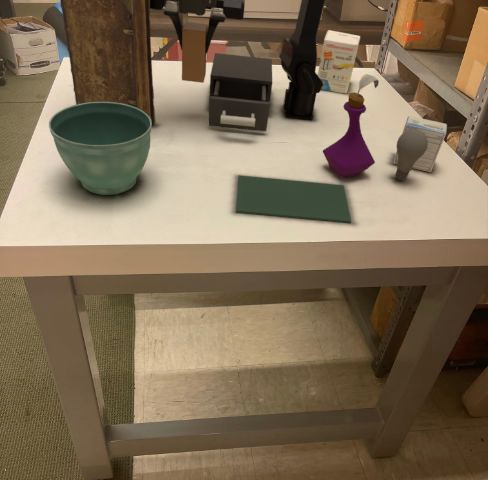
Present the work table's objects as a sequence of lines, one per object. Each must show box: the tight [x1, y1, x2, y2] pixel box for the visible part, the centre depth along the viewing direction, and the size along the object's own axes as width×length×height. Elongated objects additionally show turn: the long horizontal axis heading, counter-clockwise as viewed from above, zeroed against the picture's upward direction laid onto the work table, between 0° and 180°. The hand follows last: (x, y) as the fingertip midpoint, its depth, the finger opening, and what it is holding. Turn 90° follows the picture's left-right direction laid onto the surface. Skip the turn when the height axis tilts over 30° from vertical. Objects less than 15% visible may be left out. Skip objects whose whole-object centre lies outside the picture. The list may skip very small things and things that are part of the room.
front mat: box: [235, 174, 352, 224], centre depth 89 cm, size 20×12×1 cm, turn 88°
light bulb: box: [394, 129, 428, 181], centre depth 94 cm, size 6×6×10 cm
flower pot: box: [48, 102, 153, 196], centre depth 84 cm, size 16×16×11 cm
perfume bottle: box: [322, 73, 380, 179], centre depth 91 cm, size 8×8×18 cm
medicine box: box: [392, 115, 448, 173], centre depth 100 cm, size 8×4×9 cm, turn 71°
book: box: [59, 0, 156, 126], centre depth 96 cm, size 17×7×25 cm, turn 62°
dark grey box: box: [209, 52, 273, 104], centre depth 115 cm, size 15×14×8 cm
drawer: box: [207, 80, 271, 133], centre depth 106 cm, size 18×12×6 cm
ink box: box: [317, 29, 361, 94], centre depth 126 cm, size 9×8×12 cm
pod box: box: [181, 21, 209, 84], centre depth 100 cm, size 4×5×10 cm
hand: (194, 51), depth 100 cm, fingers closed on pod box, 4 cm apart
